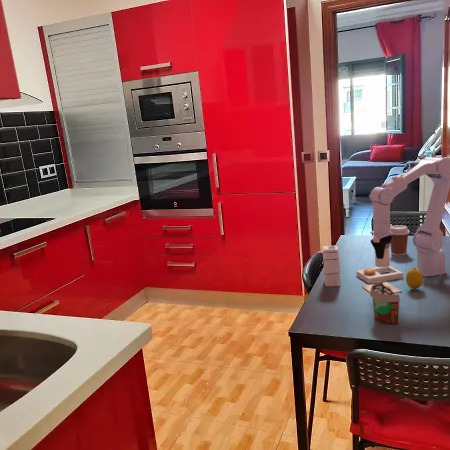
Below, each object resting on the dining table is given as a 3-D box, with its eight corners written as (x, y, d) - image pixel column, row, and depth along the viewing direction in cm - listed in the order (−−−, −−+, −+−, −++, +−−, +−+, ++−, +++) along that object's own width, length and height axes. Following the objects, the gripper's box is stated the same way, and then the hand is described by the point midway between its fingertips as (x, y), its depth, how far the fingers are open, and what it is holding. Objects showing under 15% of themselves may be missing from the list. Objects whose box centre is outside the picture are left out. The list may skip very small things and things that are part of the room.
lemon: (422, 286, 160) (422, 265, 158) (423, 292, 155) (423, 270, 153) (405, 286, 162) (405, 265, 160) (406, 292, 157) (406, 270, 155)
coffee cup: (411, 250, 200) (411, 224, 197) (407, 257, 192) (407, 230, 190) (390, 249, 205) (390, 224, 202) (385, 255, 197) (385, 229, 194)
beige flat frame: (388, 269, 180) (388, 265, 179) (403, 277, 170) (403, 272, 170) (356, 275, 177) (356, 270, 177) (369, 283, 168) (368, 278, 167)
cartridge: (377, 261, 169) (376, 241, 167) (392, 263, 166) (391, 242, 164) (372, 266, 165) (372, 246, 163) (387, 268, 162) (387, 247, 160)
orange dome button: (372, 275, 175) (371, 267, 175) (377, 278, 171) (377, 271, 171) (361, 276, 175) (361, 269, 174) (367, 280, 170) (367, 273, 170)
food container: (364, 312, 145) (363, 283, 143) (382, 309, 145) (382, 280, 143) (380, 329, 133) (379, 297, 131) (400, 326, 133) (399, 295, 131)
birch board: (386, 282, 167) (386, 281, 167) (401, 292, 157) (401, 291, 157) (361, 287, 165) (361, 286, 165) (375, 296, 156) (375, 295, 155)
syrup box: (340, 286, 168) (339, 249, 165) (324, 286, 169) (322, 249, 166) (340, 280, 174) (338, 244, 170) (324, 281, 175) (322, 245, 172)
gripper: (376, 215, 170) (377, 249, 173) (364, 224, 158) (365, 261, 161) (395, 216, 166) (396, 251, 169) (384, 225, 154) (385, 262, 157)
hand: (382, 256), depth 165 cm, fingers closed on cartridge, 5 cm apart
